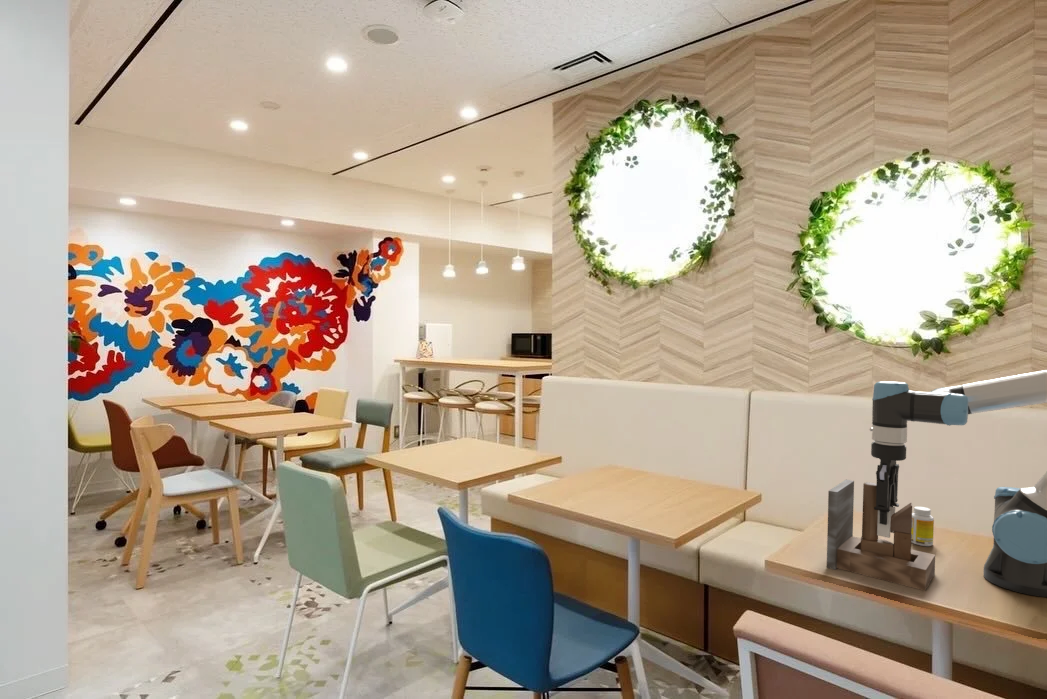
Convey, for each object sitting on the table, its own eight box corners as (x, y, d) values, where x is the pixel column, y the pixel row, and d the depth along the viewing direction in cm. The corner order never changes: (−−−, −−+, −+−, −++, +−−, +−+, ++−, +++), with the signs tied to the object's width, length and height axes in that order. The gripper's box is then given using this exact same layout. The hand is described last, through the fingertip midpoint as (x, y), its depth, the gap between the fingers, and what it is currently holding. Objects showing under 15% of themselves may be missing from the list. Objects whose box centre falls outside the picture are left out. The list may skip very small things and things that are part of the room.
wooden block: (910, 562, 144) (913, 490, 143) (860, 553, 150) (862, 484, 149) (910, 557, 147) (912, 487, 147) (860, 549, 153) (862, 481, 152)
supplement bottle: (938, 546, 166) (939, 510, 166) (921, 547, 165) (923, 512, 165) (920, 539, 172) (921, 505, 171) (905, 540, 170) (906, 506, 170)
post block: (935, 572, 148) (938, 494, 147) (924, 592, 136) (926, 508, 135) (844, 550, 162) (846, 479, 162) (826, 567, 151) (828, 490, 150)
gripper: (879, 436, 156) (877, 522, 157) (863, 445, 144) (860, 538, 145) (913, 440, 151) (910, 529, 152) (898, 449, 139) (895, 546, 139)
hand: (885, 533), depth 148 cm, fingers closed on wooden block, 4 cm apart
